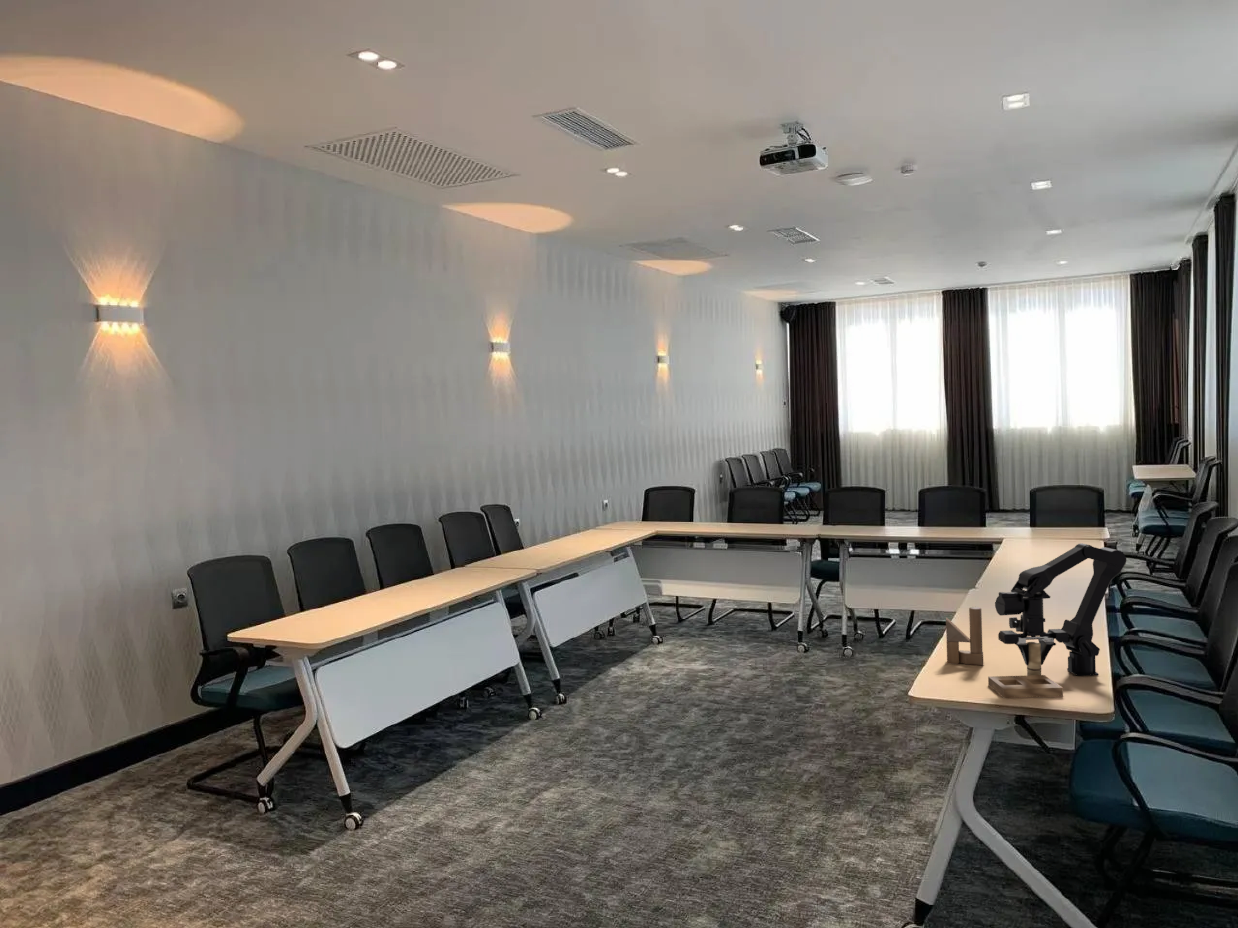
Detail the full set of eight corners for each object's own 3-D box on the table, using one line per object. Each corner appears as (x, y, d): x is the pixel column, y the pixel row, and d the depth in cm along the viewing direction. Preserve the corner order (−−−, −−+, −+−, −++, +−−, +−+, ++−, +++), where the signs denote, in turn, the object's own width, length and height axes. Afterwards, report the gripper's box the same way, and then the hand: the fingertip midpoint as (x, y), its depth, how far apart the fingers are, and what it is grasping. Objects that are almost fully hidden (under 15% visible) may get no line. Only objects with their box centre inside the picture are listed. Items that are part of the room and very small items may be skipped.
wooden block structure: (947, 660, 281) (945, 605, 280) (983, 662, 277) (981, 606, 276) (947, 663, 278) (945, 607, 277) (983, 665, 274) (981, 609, 273)
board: (1044, 683, 253) (1044, 674, 253) (1062, 696, 242) (1062, 687, 241) (988, 684, 254) (988, 676, 254) (1004, 697, 242) (1003, 689, 242)
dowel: (1038, 674, 262) (1037, 641, 262) (1043, 678, 258) (1043, 644, 258) (1025, 674, 262) (1024, 641, 262) (1030, 678, 259) (1029, 645, 258)
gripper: (1052, 606, 267) (1054, 656, 268) (990, 608, 268) (992, 658, 269) (1069, 614, 256) (1070, 666, 257) (1004, 616, 257) (1006, 668, 258)
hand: (1034, 664), depth 260 cm, fingers closed on dowel, 4 cm apart
